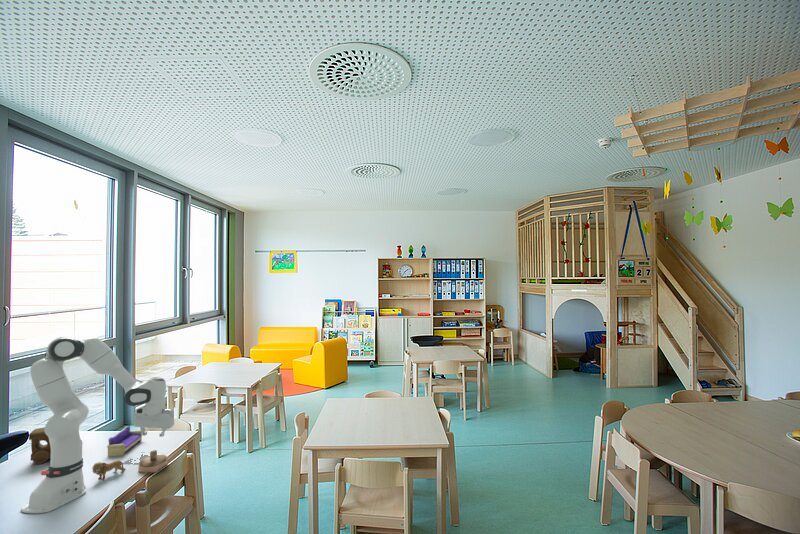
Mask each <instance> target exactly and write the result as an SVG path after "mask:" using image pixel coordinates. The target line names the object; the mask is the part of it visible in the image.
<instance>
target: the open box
mask: <svg viewBox="0 0 800 534" xmlns="http://www.w3.org/2000/svg"><path fill="white" fill-rule="evenodd" d="M168 461H169V459H168V457H167V460H166V461H165V462H164V463H162V464H160V465H157V466H153V467H141V466H140V465H137V467H138V470H137V471H138V473H150V474H151V473H153V474H154V473H155V474H156V473H157V472H159V471H160V470H161V469H163V468H164V467H166V466H168ZM159 469H160V470H159ZM158 470H159V471H158Z"/></svg>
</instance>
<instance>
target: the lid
mask: <svg viewBox="0 0 800 534" xmlns="http://www.w3.org/2000/svg"><path fill="white" fill-rule="evenodd" d="M149 453H150V456H149V457H146V458H144V459H142V460H141V461H140V464H139V465H140V466H141V467H153V466H157V465H160V464H162V463H164V462H165V461H166V460H167V458H168V457H167V455H165V454H162V455H157V453H158V450H156V449H152V450H150V452H149ZM139 465H138V466H139Z"/></svg>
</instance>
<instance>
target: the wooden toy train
mask: <svg viewBox="0 0 800 534" xmlns="http://www.w3.org/2000/svg"><path fill="white" fill-rule="evenodd" d="M28 440H29V441H30V442H31V443H30V446H31V454H30V461H32V462H33V463H35V464H37V465H42V464H45V463H47V462H48V461H49V459H51V447H50V442H49V438H48V436H47V435H46V434H45V426H43V427H39V428H34V429H33V430H32V431H31V432H30V433H29V434H28ZM40 441H45V442H46V444H42V442H40Z"/></svg>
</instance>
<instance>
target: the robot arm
mask: <svg viewBox="0 0 800 534" xmlns="http://www.w3.org/2000/svg"><path fill="white" fill-rule="evenodd" d="M75 358H80V359H82V360H83V361H84V362H85V363H86V364H87V365H88V367H90V368H91V369H92V370H93V371H94V372H96V373H97V374H99V375H104V376H105V375H106V376H110V377H112V378H113V379H114V380H115V381H116V382H117V383H118V384H119V385H120V386H121V387H122V388H123V390H124V397H123V399H124V400H123V401H124V403H125V404H126V405H127V406H131V407H136V406H140V407H138V408H136V409H135V410H134V412H135V414H134V416H133V422H132V424H133V427H135V428H140V429H139V430H141V431H142V437H143V436H144V437H145V436H147V435H148V430H146V428H152V429H153V428H154V429H161V432H160V433H159V437H161V438H162V437H164V436H165V432H166V431H167V430H169V429H172V427H174V425H175V412H174V411H173V410H172V409H166V398H165V397H166V394H167V393H166V392H167V383H166V382H167V381H166V380H165V379H164V378H163V377H160V376H159V377H158V376H154V377H153V376H152V377H149V378H148V379H147V380H145V381H141V380H139V379H137V378H135V377H134V376H133V375H132V374H131V373H130V371H128V370H127V369H126V367H124V366H123V364H122V362H121V361H120V359H119V358H118V356H117V354H116V352H114V351H113V349H112V348H110V346H109V345H108V344H107V343H105V342H104V341H103V340H102V339H100V338H99V337H96V336H90V337H87V338H84V339H82V340H80V339H79V340H78V339H75V338H72V337H68V336H62V337H61V336H60V337H57V338H55V339H53V340H52V341H51V342H49V344H48V345H47V347H46V350H45V355H44V357H43V358H41V359H38V360H37V361H35V362H34V363H32V365H30V368H29V369H30V370H29V371H30V375H31V380H32V383H33V386H34V388H35V391H36V392H37V395H38V397H39V399H40V401H41V403H42V405H44V406H46V407H47V408H48V409H49V410H50V411H51V412H52V413H53V415H52V416H51V417H50V418H49V419H48V421H47V422H46V424H45V426H44V427H45V434H46V435H47V436H48V438H49V442H50V447H51V457H50V463H49V464H50V465H48V468H47V469H42V470H41V472H40V475H41V476H45V477H44V478H43V479H42V481H40V483H39V484H38V485H37V486H36V487H35V488H34V489H33V491H31V494H30V496H29V499H28V502H27V503H26V504H24V505H23V506H22V507H21V508H20V511H21V513H26V514H42V513H50V512H52V511H54V510H56V509H58V508H60V507H62V506H63V505H66V504H67V503H70V502H72V501H73V500H75V499H77V498H80V497H81V496H83V495H85V494H86V493H87V491H86V485H85V481H84V473H83V467H84V458H83V440H82V439H81V435H80V426H81V425H82V424H83V423H84V422H85V421H86V420H87V418H88V415H89V411H90V410H89V407H88V405H87V404H85V403H84V402H82V401H81V399H80V398H79V397H78V396H77V394H76V393H75V391H74V390H73V388H72V386H71V383H70V381H69V378H68V377H67V375H66V372H65V370H64V363H65V362H67V361H69V360H72V359H75ZM144 404H145V405H144ZM141 405H143V406H141Z"/></svg>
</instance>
